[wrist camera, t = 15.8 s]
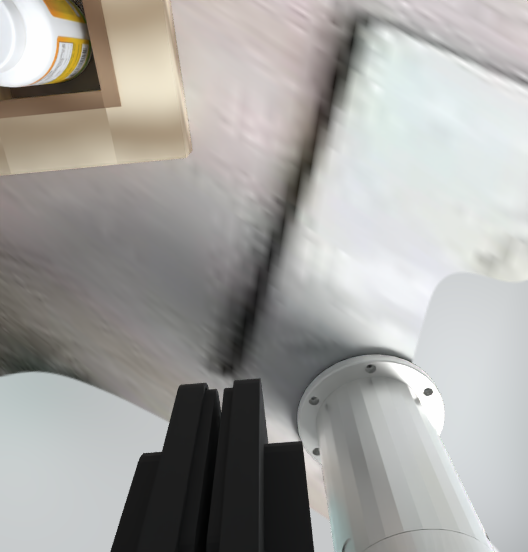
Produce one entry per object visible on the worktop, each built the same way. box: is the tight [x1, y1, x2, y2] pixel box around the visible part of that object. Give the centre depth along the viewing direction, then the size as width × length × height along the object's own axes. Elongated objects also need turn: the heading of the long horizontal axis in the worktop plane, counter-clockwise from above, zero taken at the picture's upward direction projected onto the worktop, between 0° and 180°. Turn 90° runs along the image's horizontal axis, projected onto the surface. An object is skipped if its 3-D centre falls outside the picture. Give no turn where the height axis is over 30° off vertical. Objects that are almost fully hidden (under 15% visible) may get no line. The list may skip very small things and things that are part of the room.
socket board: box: [0, 0, 192, 176], centre depth 30 cm, size 16×16×3 cm
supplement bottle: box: [0, 0, 92, 87], centre depth 27 cm, size 5×5×10 cm
